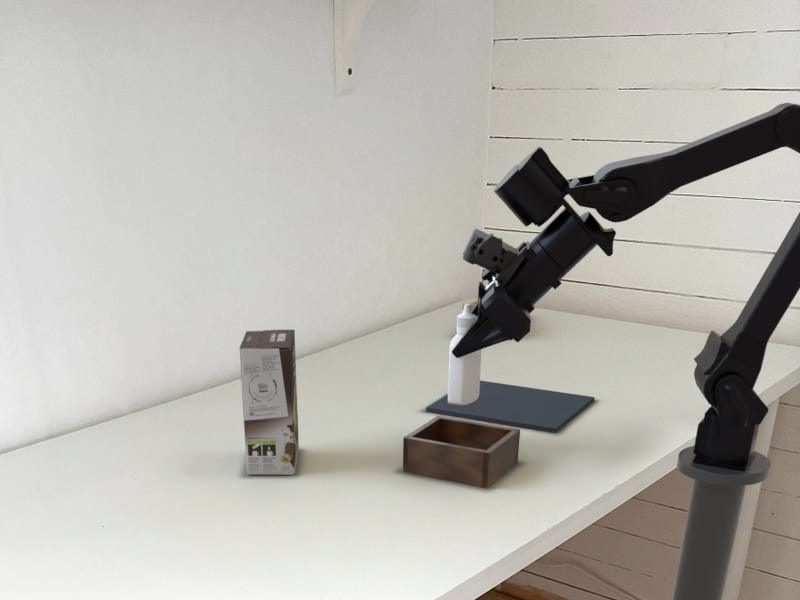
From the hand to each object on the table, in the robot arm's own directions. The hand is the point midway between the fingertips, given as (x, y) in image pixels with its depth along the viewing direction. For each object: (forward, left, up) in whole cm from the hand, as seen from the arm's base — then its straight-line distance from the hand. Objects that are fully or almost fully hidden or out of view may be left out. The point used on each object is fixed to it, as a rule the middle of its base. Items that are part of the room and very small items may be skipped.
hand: (454, 348), depth 125 cm
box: (+22, -63, -13) cm, 69 cm away
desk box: (-4, +6, -13) cm, 15 cm away
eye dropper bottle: (-1, -1, -7) cm, 7 cm away
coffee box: (+18, +16, -13) cm, 27 cm away
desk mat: (0, -20, -13) cm, 24 cm away
